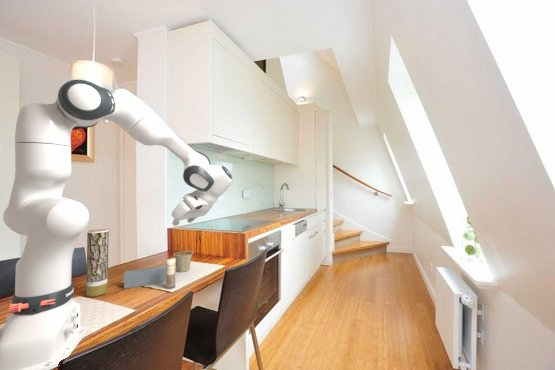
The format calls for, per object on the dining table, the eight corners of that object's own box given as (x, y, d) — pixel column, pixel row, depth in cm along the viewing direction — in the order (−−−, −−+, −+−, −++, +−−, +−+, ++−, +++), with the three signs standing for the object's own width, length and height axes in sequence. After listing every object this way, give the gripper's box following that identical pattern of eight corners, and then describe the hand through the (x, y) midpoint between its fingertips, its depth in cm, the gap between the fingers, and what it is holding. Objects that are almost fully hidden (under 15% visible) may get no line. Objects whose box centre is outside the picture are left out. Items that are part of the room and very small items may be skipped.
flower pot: (193, 272, 123) (193, 254, 124) (172, 274, 120) (173, 256, 120) (192, 266, 132) (192, 250, 132) (173, 268, 129) (173, 252, 129)
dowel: (175, 288, 103) (176, 259, 103) (166, 289, 101) (166, 260, 102) (174, 285, 106) (175, 257, 107) (165, 286, 105) (165, 258, 105)
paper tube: (96, 298, 93) (97, 231, 94) (81, 296, 95) (82, 231, 95) (111, 291, 100) (112, 229, 100) (97, 289, 101) (98, 228, 102)
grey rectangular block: (165, 278, 114) (165, 265, 114) (166, 281, 110) (166, 268, 110) (124, 285, 106) (124, 271, 106) (124, 288, 102) (124, 274, 102)
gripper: (211, 193, 111) (192, 215, 114) (182, 194, 92) (160, 220, 94) (220, 203, 110) (200, 225, 113) (192, 207, 90) (169, 232, 93)
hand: (181, 223), depth 103 cm, fingers open, 8 cm apart
